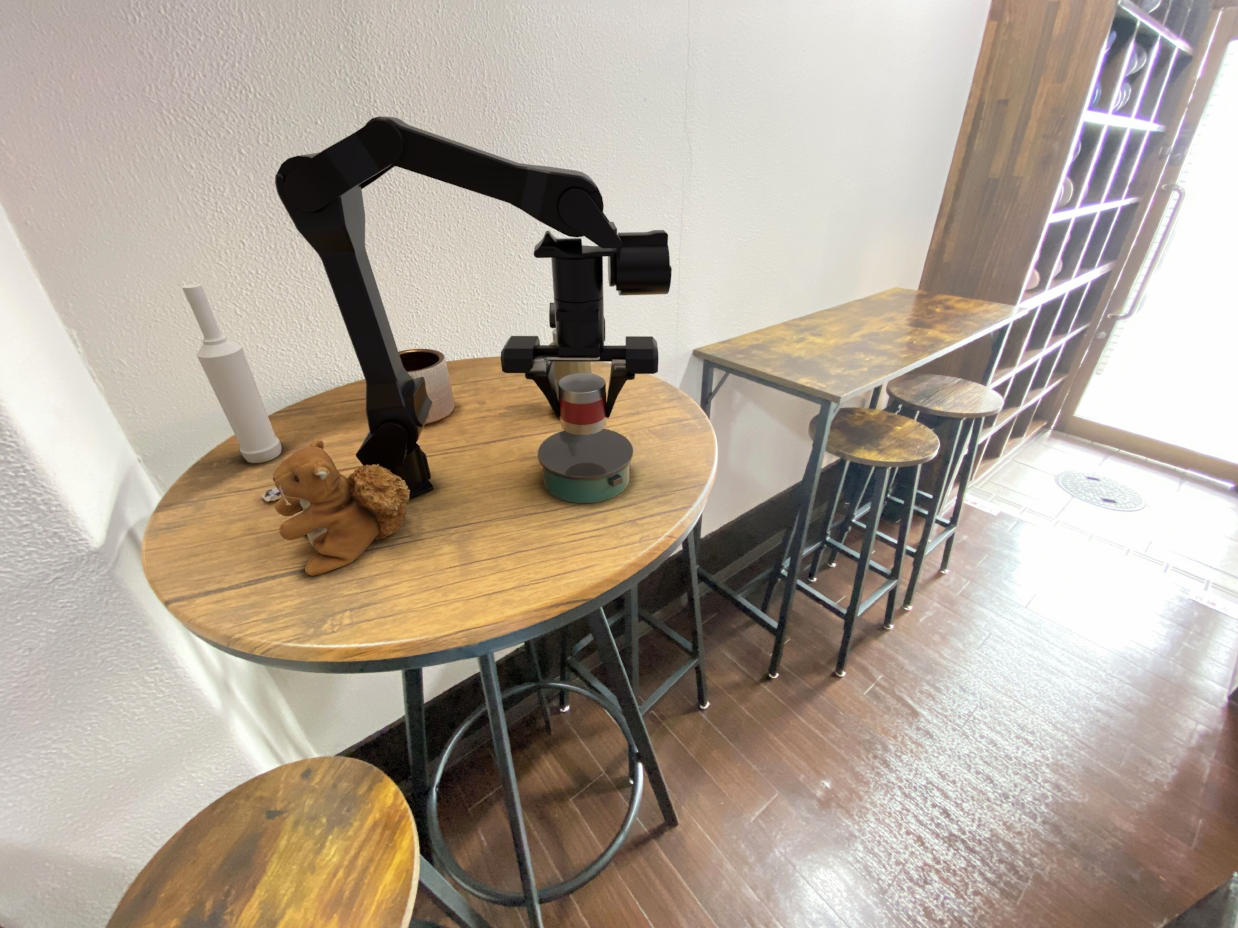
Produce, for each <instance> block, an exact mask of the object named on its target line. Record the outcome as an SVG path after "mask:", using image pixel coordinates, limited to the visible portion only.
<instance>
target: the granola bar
mask: <svg viewBox="0 0 1238 928" xmlns="http://www.w3.org/2000/svg"><path fill="white" fill-rule="evenodd" d="M260 497H261V498H263V499H264V501H265V502H271V501H272V502H275V501H277V500H279V499H280V497H282V496H281V493H280V492H279V490H278V489H277V487H276V486H275V487H273V488H271V489H269V490H266V491H265V493H261V495H260Z"/></svg>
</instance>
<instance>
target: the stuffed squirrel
mask: <svg viewBox="0 0 1238 928" xmlns="http://www.w3.org/2000/svg"><path fill="white" fill-rule="evenodd" d="M324 447H325V443H324V441H323V440H322V439H320V438H317V439H314V440H313V441H311V443H310V444H309V446H306V447H303V448H300V449H298V450H296V451H294V452H293V453H292V454H290V455H289V456H288V457H286V458H285V459H284V460H282V462H280V464H279V465H278V466H277V467H276V468H275V469H274V471H273V473H272V481H273V483H274V485H275V487H277V489H278V490H279V492H280V493H281V496H282V497H280V499H277V500H278V501H276V503H274V509H275V511H276V512H277V513H278V514H279V515H281V516H283V517H290V518H288V519H286V520H284V521H282V523H281V524H280V525H279V528H278V533H279V535H280V537H282V538H283V540H287V541H294V540H298V539H301V538H302V537H304V536H306V535H307V539H308V542H309V543H310V545H311V546H312V547H313V548H314V550H316V553H314V554H313V555H312V556H311V557H310V558H309V559H308V561H307V563H306V565H305V567H304V571H305V573H306V574H307V575H308V576H311V577H313V576H318V575H322V574H325V573H328V572H330V571H331V572H332V571H333V570H337V569H340V568H342V567H344V566H347V565H349V564H351V563H352V562H354V561H355V560H357V559H358V558H359V557H360V555H361V556H362V554H363V553H364V552H365V550H367V548H368V547H369V546H370V545H371V544H372V542H373V541H374V540H375V541H378V540H382V539H385V538H387V537H389V536H391V535H393V534H395V533H397V532H398V531H399V530H400V528H401V527H402V526H403V525H404V524H405V518H406V514H408V513H407V512H408V511H406V505H407V504H408V503H407V502H409V501H410V499H409V495H410V490H409V489H408V486H406V484H405V480H402V478H401V477H399V476H396V475H395V474H392V472H391V471H390V470H387V469H386V468H383V467H381V466H379V464H377V465H374V464H373V465H371V466H370V465H369V466H368V465H366V466H363V465H362V466H359V467H357V468H356V469H355V470H353V472H352V473H350V475H349V476H345V475H344V474H342V473H340V472H339V470H338V468H337V466H336V465H335V462H334V460H333V459H332V457H331V456H330V454H328V453H327V451H326V450H325V449H324Z"/></svg>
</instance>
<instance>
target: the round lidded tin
mask: <svg viewBox="0 0 1238 928" xmlns="http://www.w3.org/2000/svg"><path fill="white" fill-rule="evenodd" d="M633 458H634V447H633V444H632V442H631V441H630V440H629V439H628V438H627V437H626V436H624V435H623V434H621V433H619V432H617V431H614V430H612V429H609V428H604V429H603V430H601V431H600V432H597V433H594V434H590V435H575V434H571V433H568V432H566V431H565V430H561V431H558V432H555V433H554V434H552V435H550V436H549V437H547V438H546V439H544V440H543V441H542V442H541V444H540V445H539V447H538V449H537V460H538V463H539V464H540V466H541V467H542V474H543V483H544V486H545V488H546V490H547V491H548V492H549V493H550V494H551V495H552V496H553V497H555V498H557V499H559V500H562V501H565V502H568V503H574V504H594V503H602V502H603V501H607V500H610V499H613V498H614V497H616V496H619V494H621V493H622V492H623V491H625V489H626V488H627V487H628V485H629V482H630V464H631V462H632V460H633Z"/></svg>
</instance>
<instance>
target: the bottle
mask: <svg viewBox="0 0 1238 928" xmlns="http://www.w3.org/2000/svg"><path fill="white" fill-rule="evenodd" d="M181 288H182V291H183V294H184V295H185V297H186V300H187V302H188V304H189V306H190V308H191V310H192V313H193V314H194V317H195V319H196V322H197V324H198V326H199V328H200V331H201V333H202V336H203V338H202V340H201V341H202V343H203V344H202V345H201V346H200V348H199V349H198V351H197V352H196V355H195V356H196V357H197V359H198V361H199V363H200V365H201V367H202V370H203V371H204V374H205V376H206V378H207V380H208V382H209V384H210V386H211V388H212V390H213V392H214V395H215V396H216V398H217V400H218V403H219V405H220V407H221V409H222V411H223V413H224V415H225V417H226V419H227V421H228V423H229V426H230V429H232V431H233V434H234V436H235V438H236V440H237V442H238V444H239V446H240V448H239V451H240V454H241V455H242V457H243V459H244V460H246V462H247V463H250V464H260V463H265V462H268V461H269V462H270V461H272V460H274V459H276V458H278V457H279V456H280V454H282V450H283V449H282V448H283V447H282V444H281V441H280V439H279V438H278V437H277V436H276V434H275V431H274V429H273V426H272V423H271V421H270V418H269V415H268V412H267V410H266V407H265V405H264V402H263V399H262V396H261V394H260V391H259V388H258V386H257V383H256V380H255V378H254V376H253V373H252V370H251V367H250V365H249V362H248V359H247V357H246V355H245V352H244V349H243V347H242V345H240V344H239V343H237V342H235V341H232V340H231V339H228V338H227V336H226V335H224V334H222V331H221V329H220V327H219V324H218V321H217V320H216V317H215V314H214V312H213V310H212V308H211V306H210V303H209V300H208V297H207V294H206V292H205V289H204V287H203V285H202V284H201V283H189V284H185V285H182V286H181Z"/></svg>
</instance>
